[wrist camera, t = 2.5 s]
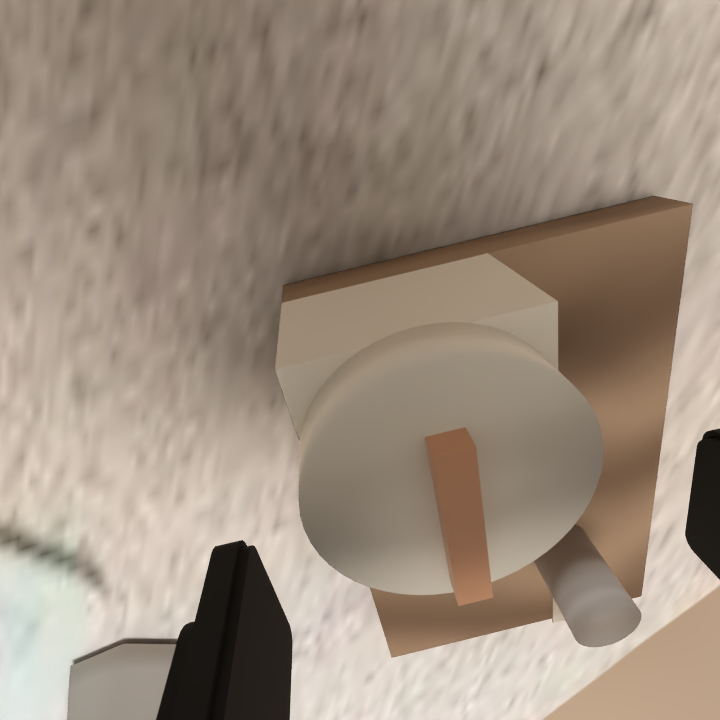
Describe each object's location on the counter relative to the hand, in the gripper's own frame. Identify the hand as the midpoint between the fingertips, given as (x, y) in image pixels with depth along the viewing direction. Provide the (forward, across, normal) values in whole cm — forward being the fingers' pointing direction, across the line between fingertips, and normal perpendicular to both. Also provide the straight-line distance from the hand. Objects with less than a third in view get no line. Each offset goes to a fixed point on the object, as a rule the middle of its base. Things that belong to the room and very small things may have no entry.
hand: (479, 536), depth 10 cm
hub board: (+8, -3, +5) cm, 9 cm away
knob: (+6, 0, -1) cm, 6 cm away
